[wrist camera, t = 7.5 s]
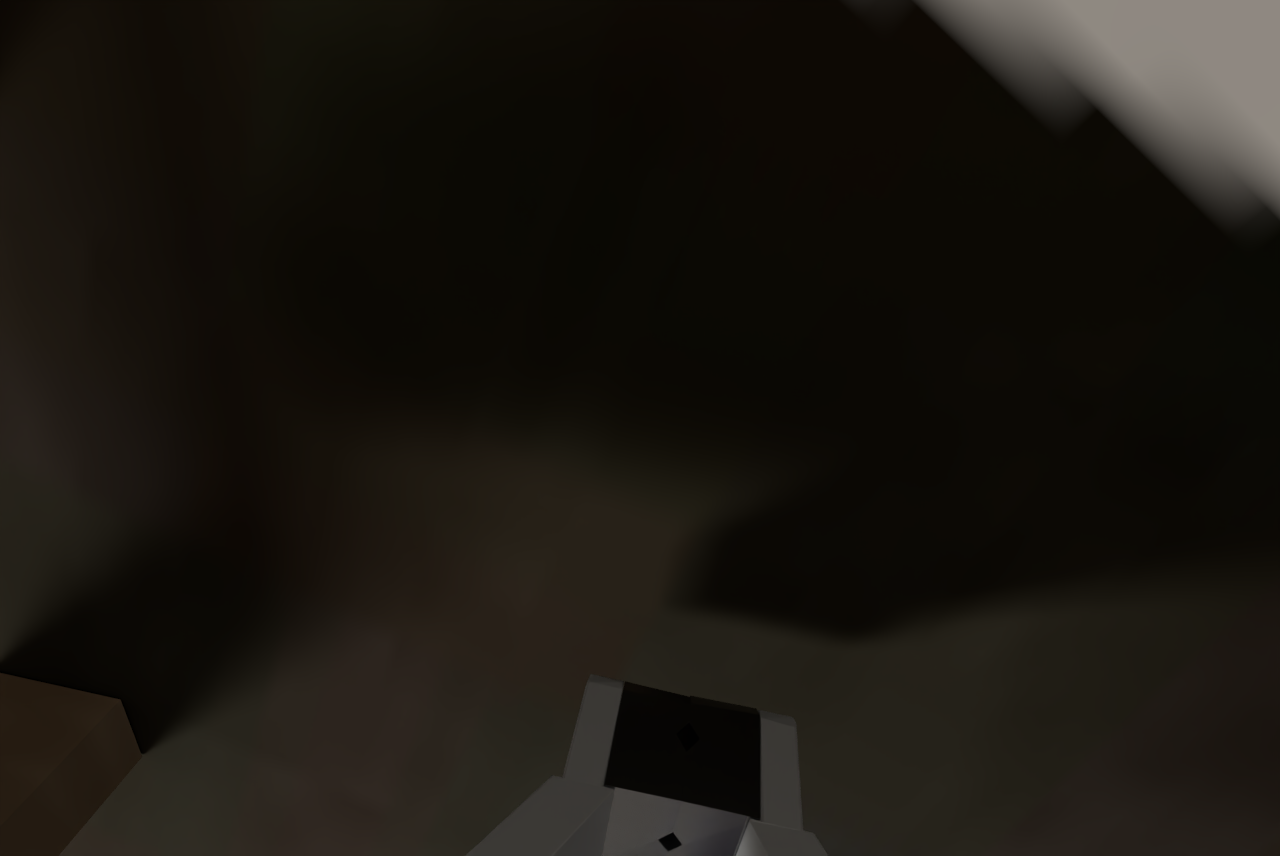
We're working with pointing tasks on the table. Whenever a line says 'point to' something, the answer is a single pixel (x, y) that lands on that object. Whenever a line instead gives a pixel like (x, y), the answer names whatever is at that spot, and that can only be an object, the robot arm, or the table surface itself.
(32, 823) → the bridge
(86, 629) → the table surface
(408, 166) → the table surface
